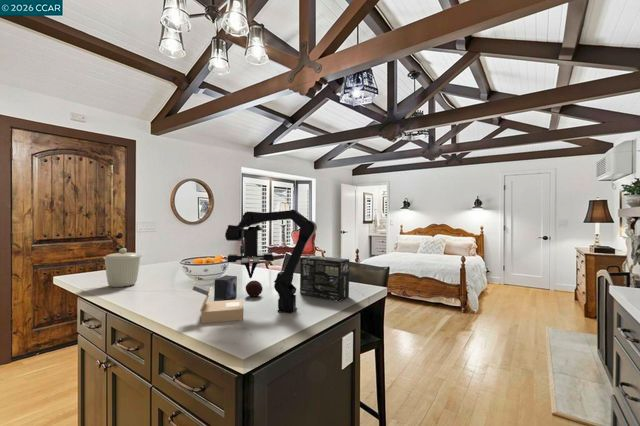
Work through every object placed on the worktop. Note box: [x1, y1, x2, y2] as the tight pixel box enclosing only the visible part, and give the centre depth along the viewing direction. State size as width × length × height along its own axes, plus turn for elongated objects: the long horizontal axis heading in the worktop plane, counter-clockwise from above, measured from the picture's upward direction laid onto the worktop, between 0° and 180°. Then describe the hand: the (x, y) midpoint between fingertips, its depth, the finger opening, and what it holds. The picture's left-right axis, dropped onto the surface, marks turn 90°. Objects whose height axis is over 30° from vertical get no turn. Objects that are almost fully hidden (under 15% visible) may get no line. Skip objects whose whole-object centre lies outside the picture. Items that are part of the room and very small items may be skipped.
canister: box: [102, 247, 142, 288], centre depth 170 cm, size 18×18×21 cm
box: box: [299, 254, 350, 302], centre depth 149 cm, size 23×10×19 cm, turn 58°
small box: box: [213, 274, 238, 301], centre depth 142 cm, size 11×6×10 cm, turn 168°
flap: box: [192, 283, 213, 312], centre depth 116 cm, size 6×13×6 cm
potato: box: [245, 280, 263, 297], centre depth 148 cm, size 8×9×8 cm
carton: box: [200, 299, 244, 324], centre depth 119 cm, size 15×14×4 cm
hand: (250, 278), depth 128 cm, fingers closed
